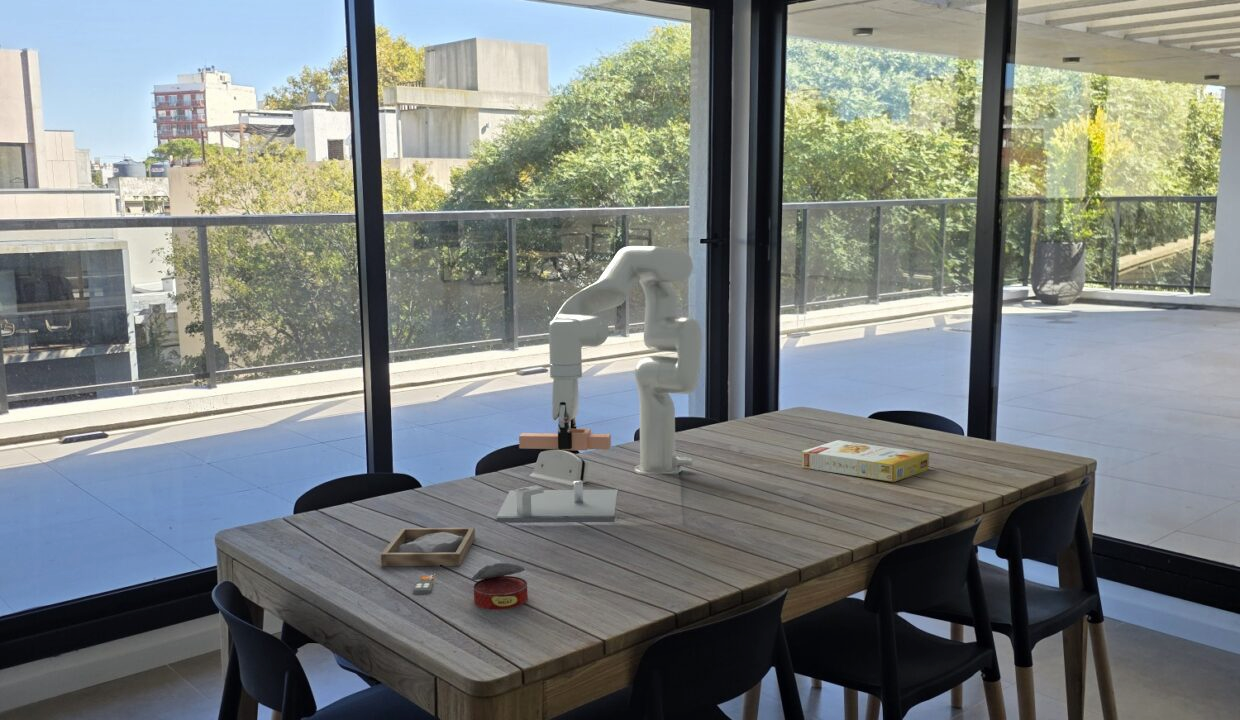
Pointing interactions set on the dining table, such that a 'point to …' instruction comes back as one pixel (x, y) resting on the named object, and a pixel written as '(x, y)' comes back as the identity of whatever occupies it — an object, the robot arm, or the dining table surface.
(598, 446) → the link
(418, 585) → the key chain
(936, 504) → the dining table surface
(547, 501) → the board
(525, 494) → the bracket
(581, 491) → the pin
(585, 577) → the dining table surface
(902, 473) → the cereal box
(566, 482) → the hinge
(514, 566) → the canned food
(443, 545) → the stone block
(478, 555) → the dining table surface
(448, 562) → the tray
